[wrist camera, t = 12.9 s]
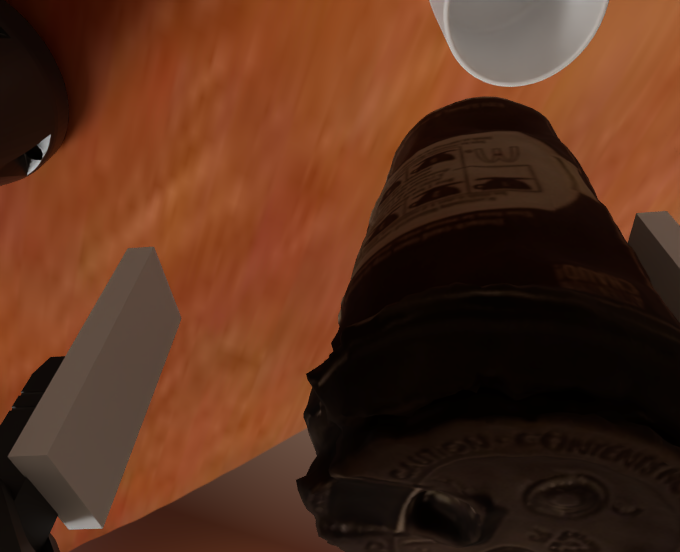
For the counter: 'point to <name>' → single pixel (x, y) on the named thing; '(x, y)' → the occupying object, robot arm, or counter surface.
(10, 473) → the robot arm
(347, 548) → the coffee cup
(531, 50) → the mug
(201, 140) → the counter surface
